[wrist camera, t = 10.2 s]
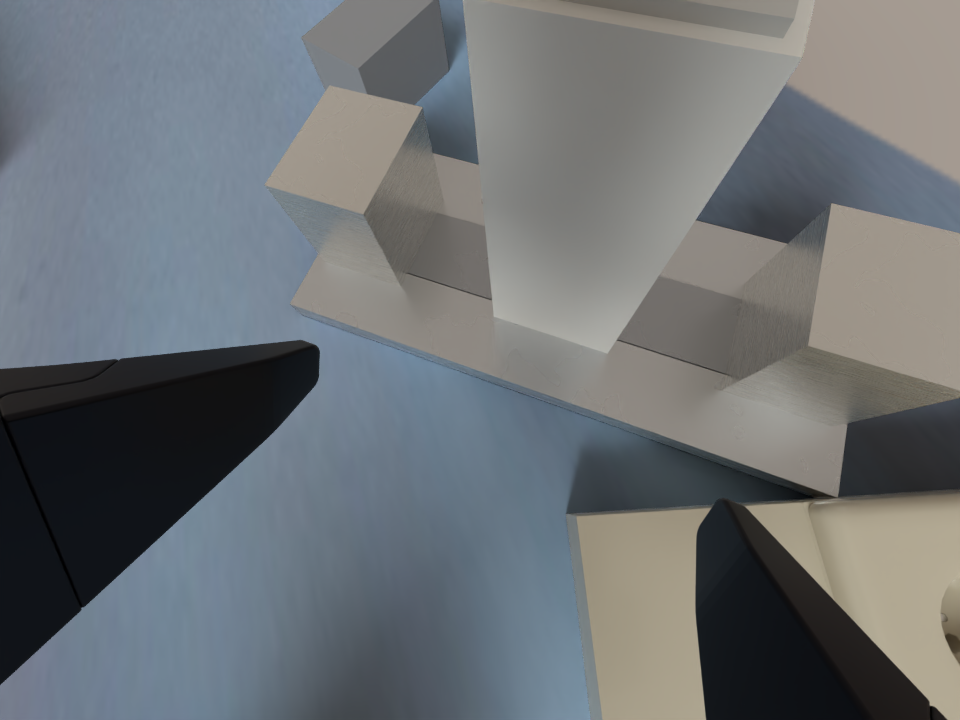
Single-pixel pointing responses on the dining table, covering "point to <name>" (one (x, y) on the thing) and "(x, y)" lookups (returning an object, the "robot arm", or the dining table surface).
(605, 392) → the rail plate
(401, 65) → the grey rectangular block
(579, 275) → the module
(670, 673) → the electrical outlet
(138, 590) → the dining table surface
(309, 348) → the robot arm
